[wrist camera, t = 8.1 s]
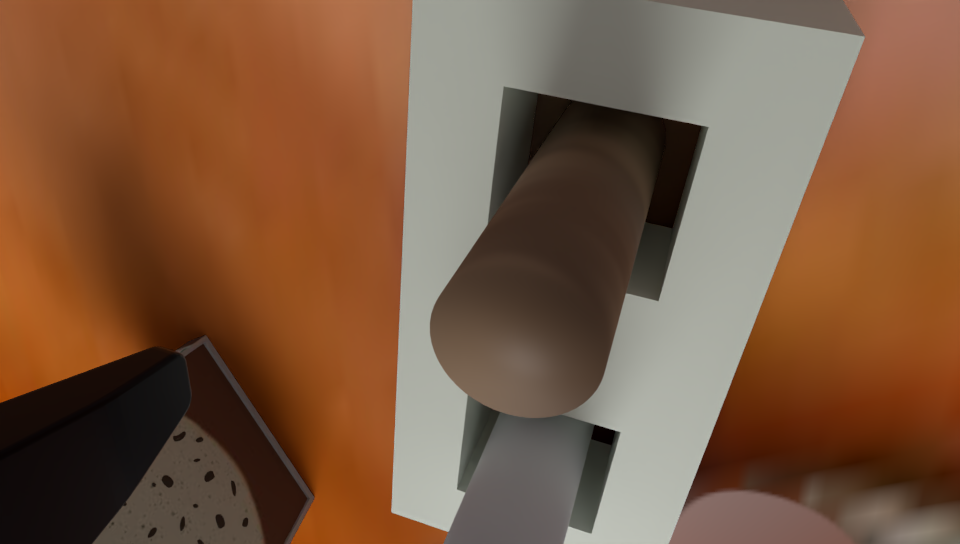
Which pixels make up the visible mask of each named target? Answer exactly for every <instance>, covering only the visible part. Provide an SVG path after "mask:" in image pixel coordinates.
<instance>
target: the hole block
mask: <svg viewBox="0 0 960 544" xmlns="http://www.w3.org/2000/svg"><path fill="white" fill-rule="evenodd" d="M864 38H865V36H864V34H863V32H862V31H861V29H860V28H859V26H858V24H857V23H856V21H855V19H854V18H853V16H852V14H851V13H850V11H849V9H848V8H847V6H846V5H845V3H844V1H843V0H413V7H412V32H411V56H410V80H409V104H408V128H407V152H406V176H405V200H404V224H403V248H402V272H401V296H400V320H399V344H398V368H397V392H396V416H395V440H394V464H393V488H392V513H395V514H398V515H401V516H404V517H407V518H409V519H412V520H415V521H418V522H421V523H424V524H427V525H430V526H433V527H436V528H439V529H441V530H444V531H447V532H449V530H450V527H451V525H452V523H453V520H454V518H455V516H456V514H457V511H458V509H459V507H460V504H461V502H462V500H463V497H464V495H465V493H466V490H467V488H468V486H469V483H470V481H471V479H472V476H473V474H474V472H475V469H476V467H477V465H478V462H479V460H480V458H481V456H482V453H483V451H484V449H485V446H486V444H487V442H488V439H489V437H490V435H491V432H492V430H493V428H494V425H495V423H496V421H497V418H498V416H499V414H500V412H499V411H496V410H493V409H492V408H489V407H487V406H485V405H483V404H481V403H480V402H478V401H476V400H474V399H473V398H472V397H470V396H469V395H467V394H466V393H465V392H464V391H462V390H461V389H460V388H459V387H458V386H457V385H456V384H455V383H454V382H453V381H452V380H451V379H450V378H449V376H448V375H447V374H446V372H445V371H444V370H443V368H442V366H441V365H440V363H439V361H438V359H437V357H436V355H435V353H434V350H433V346H432V343H431V337H430V319H431V313H432V310H433V307H434V305H435V303H436V301H437V299H438V297H439V296H440V294H441V293H442V291H443V290H444V288H445V287H446V285H447V284H448V282H449V281H450V279H451V278H452V276H453V275H454V274H455V272H456V271H457V269H458V268H459V266H460V265H461V263H462V262H463V260H464V259H465V257H466V256H467V254H468V253H469V251H470V250H471V248H472V247H473V246H474V244H475V243H476V241H477V240H478V238H479V237H480V235H481V234H482V232H483V231H484V229H485V228H486V226H487V225H488V223H489V222H490V220H491V219H492V218H493V216H494V215H495V213H496V212H497V210H498V209H499V207H500V206H501V204H502V203H503V201H504V200H505V198H506V197H507V195H508V194H509V192H510V191H511V190H512V188H513V187H514V185H515V184H516V182H517V181H518V179H519V178H520V176H521V175H522V173H523V172H524V170H525V169H526V167H527V166H528V161H529V154H530V147H531V140H532V133H533V126H534V119H535V112H536V105H537V99H538V93H540V94H545V95H550V96H555V97H560V98H565V99H570V100H575V101H580V102H585V103H590V104H595V105H600V106H606V107H611V108H616V109H621V110H626V111H631V112H636V113H641V114H646V115H651V116H656V117H661V118H666V119H671V120H676V121H681V122H686V123H691V124H696V125H701V129H700V133H699V136H698V140H697V143H696V147H695V150H694V154H693V157H692V161H691V165H690V168H689V172H688V175H687V179H686V182H685V186H684V189H683V193H682V197H681V200H680V204H679V207H678V211H677V214H676V218H675V221H674V225H673V228H669V227H664V226H660V225H656V224H651V223H647V222H645V224H644V228H643V232H642V235H641V239H640V243H639V247H638V250H637V254H636V258H635V261H634V265H633V269H632V273H631V276H630V280H629V284H628V287H627V291H626V295H625V299H624V302H623V306H622V310H621V314H620V317H619V321H618V325H617V328H616V332H615V336H614V340H613V343H612V347H611V351H610V354H609V358H608V362H607V366H606V369H605V373H604V376H603V379H602V381H601V383H600V385H599V387H598V389H597V390H596V391H595V393H594V394H593V395H592V396H591V397H590V398H589V399H588V400H587V401H586V402H585V403H584V404H582V405H580V406H579V407H577V408H576V409H574V410H572V411H569V412H567V413H564V414H561V415H564V416H568V417H571V418H575V419H578V420H581V421H585V422H588V423H591V424H595V425H598V426H602V427H605V428H608V429H612V430H615V434H614V438H613V441H612V445H609V444H605V443H602V442H599V441H595V440H592V439H591V441H590V444H589V448H588V452H587V456H586V460H585V464H584V468H583V471H582V475H581V479H580V483H579V487H578V491H577V495H576V498H575V502H574V506H573V510H572V514H571V518H570V522H569V525H568V529H567V533H566V537H565V541H564V544H669V542H670V539H671V536H672V534H673V531H674V529H675V526H676V524H677V521H678V518H679V516H680V513H681V511H682V508H683V506H684V503H685V500H686V498H687V495H688V493H689V490H690V487H691V485H692V482H693V480H694V477H695V475H696V472H697V469H698V467H699V464H700V462H701V459H702V456H703V454H704V451H705V449H706V446H707V444H708V441H709V438H710V436H711V433H712V431H713V428H714V426H715V423H716V420H717V418H718V415H719V413H720V410H721V407H722V405H723V402H724V400H725V397H726V395H727V392H728V389H729V387H730V384H731V382H732V379H733V376H734V374H735V371H736V369H737V366H738V364H739V361H740V358H741V356H742V353H743V351H744V348H745V345H746V343H747V340H748V338H749V335H750V333H751V330H752V327H753V325H754V322H755V320H756V317H757V314H758V312H759V309H760V307H761V304H762V302H763V299H764V296H765V294H766V291H767V289H768V286H769V284H770V281H771V278H772V276H773V273H774V271H775V268H776V265H777V263H778V260H779V258H780V255H781V253H782V250H783V247H784V245H785V242H786V240H787V237H788V234H789V232H790V229H791V227H792V224H793V222H794V219H795V216H796V214H797V211H798V209H799V206H800V203H801V201H802V198H803V196H804V193H805V191H806V188H807V185H808V183H809V180H810V178H811V175H812V172H813V170H814V167H815V165H816V162H817V160H818V157H819V154H820V152H821V149H822V147H823V144H824V142H825V139H826V136H827V134H828V131H829V129H830V126H831V123H832V121H833V118H834V116H835V113H836V111H837V108H838V105H839V103H840V100H841V98H842V95H843V92H844V90H845V87H846V85H847V82H848V80H849V77H850V74H851V72H852V69H853V67H854V64H855V61H856V59H857V56H858V54H859V51H860V49H861V46H862V43H863V41H864Z"/></svg>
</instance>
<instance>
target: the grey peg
mask: <svg viewBox="0 0 960 544" xmlns="http://www.w3.org/2000/svg"><path fill="white" fill-rule="evenodd" d="M594 425H595V424H591V423H588V422H585V421H581V420H578V419H575V418H571V417H568V416H564V415H558V416H552V417H546V418H525V417H518V416H513V415H509V414H505V413H502V412H500V414H499V416H498V418H497V421H496V423H495V425H494V428H493V430H492V432H491V435H490V437H489V439H488V442H487V444H486V446H485V449H484V451H483V453H482V456H481V458H480V460H479V462H478V465H477V467H476V469H475V472H474V474H473V476H472V479H471V481H470V483H469V486H468V488H467V490H466V493H465V495H464V497H463V500H462V502H461V504H460V507H459V509H458V511H457V514H456V516H455V518H454V520H453V523H452V525H451V527H450V530H449V532H448V534H447V537H446V539H445V541H444V544H564V541H565V537H566V533H567V529H568V525H569V522H570V518H571V514H572V510H573V506H574V502H575V498H576V495H577V491H578V487H579V483H580V479H581V475H582V471H583V468H584V464H585V460H586V456H587V452H588V448H589V444H590V441H591V437H592V433H593V429H594Z"/></svg>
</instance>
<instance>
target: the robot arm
mask: <svg viewBox="0 0 960 544" xmlns="http://www.w3.org/2000/svg"><path fill="white" fill-rule="evenodd" d="M191 397H192V392H191V386H190V380H189V374H188V368H187V363H186V359H185V357H184V356H183V354H181V353H179V352H176V351H173V350H170V349H167V348H164V347H152V348H149V349H146V350H143V351H141V352H138V353H135V354H132V355H130V356H127V357H124V358H122V359H119V360H116V361H113V362H111V363H108V364H105V365H102V366H100V367H97V368H94V369H91V370H89V371H86V372H83V373H81V374H78V375H75V376H72V377H70V378H67V379H64V380H61V381H59V382H56V383H53V384H51V385H48V386H45V387H42V388H40V389H37V390H34V391H31V392H29V393H26V394H23V395H21V396H18V397H15V398H12V399H10V400H7V401H4V402H1V403H0V544H93V542H94V541H95V540H96V539H97V537H98V536H99V535H100V534H101V533H102V531H103V530H104V529H105V528H106V526H107V525H108V524H109V523H110V521H111V520H112V519H113V518H114V517H115V515H116V514H117V513H118V512H119V510H120V509H121V508H122V506H123V505H124V504H125V502H126V501H127V500H128V499H129V497H130V496H131V494H132V493H133V492H134V490H135V489H136V487H137V486H138V485H139V483H140V482H141V480H142V479H143V477H144V476H145V474H146V473H147V471H148V469H149V468H150V466H151V465H152V463H153V462H154V460H155V459H156V457H157V456H158V454H159V453H160V451H161V450H162V448H163V447H164V445H165V444H166V442H167V441H168V439H169V438H170V436H171V435H172V433H173V432H174V430H175V429H176V427H177V425H178V424H179V422H180V421H181V419H182V418H183V416H184V415H185V413H186V412H187V410H188V408H189V406H190V402H191Z"/></svg>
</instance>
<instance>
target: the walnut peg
mask: <svg viewBox="0 0 960 544" xmlns="http://www.w3.org/2000/svg"><path fill="white" fill-rule="evenodd" d="M665 144H666V133H665V127H664V123H663V120H662V118H661V117H656V116H651V115H646V114H641V113H636V112H631V111H626V110H621V109H616V108H611V107H606V106H600V105H595V104H590V103H585V102H580V101H575V100H573V101H572V102H571V103H570V105H569V106H568V107H567V109H566V110H565V111H564V113H563V114H562V116H561V117H560V119H559V120H558V122H557V123H556V125H555V126H554V128H553V129H552V131H551V132H550V134H549V135H548V136H547V138H546V139H545V141H544V142H543V144H542V145H541V147H540V148H539V150H538V151H537V153H536V154H535V156H534V157H533V159H532V160H531V162H530V163H529V164H528V166H527V167H526V169H525V170H524V172H523V173H522V175H521V176H520V178H519V179H518V181H517V182H516V184H515V185H514V187H513V188H512V190H511V191H510V192H509V194H508V195H507V197H506V198H505V200H504V201H503V203H502V204H501V206H500V207H499V209H498V210H497V212H496V213H495V215H494V216H493V218H492V219H491V220H490V222H489V223H488V225H487V226H486V228H485V229H484V231H483V232H482V234H481V235H480V237H479V238H478V240H477V241H476V243H475V244H474V246H473V247H472V248H471V250H470V251H469V253H468V254H467V256H466V257H465V259H464V260H463V262H462V263H461V265H460V266H459V268H458V269H457V271H456V272H455V274H454V275H453V276H452V278H451V279H450V281H449V282H448V284H447V285H446V287H445V288H444V290H443V291H442V293H441V294H440V296H439V297H438V299H437V301H436V303H435V305H434V307H433V310H432V313H431V319H430V337H431V343H432V346H433V350H434V353H435V355H436V357H437V359H438V361H439V363H440V365H441V366H442V368H443V370H444V371H445V372H446V374H447V375H448V376H449V378H450V379H451V380H452V381H453V382H454V383H455V384H456V385H457V386H458V387H459V388H460V389H461V390H462V391H464V392H465V393H466V394H467V395H469V396H470V397H472V398H473V399H474V400H476V401H478V402H480V403H481V404H483V405H485V406H487V407H489V408H492V409H494V410H496V411H499V412H502V413H505V414H509V415H513V416H518V417H525V418H546V417H552V416H558V415H561V414H564V413H567V412H569V411H572V410H574V409H576V408H577V407H579V406H580V405H582V404H584V403H585V402H586V401H587V400H588V399H589V398H590V397H591V396H592V395H593V394H594V393H595V391H596V390H597V389H598V387H599V385H600V383H601V381H602V379H603V376H604V373H605V369H606V366H607V362H608V358H609V354H610V351H611V347H612V343H613V340H614V336H615V332H616V328H617V325H618V321H619V317H620V314H621V310H622V306H623V302H624V299H625V295H626V291H627V287H628V284H629V280H630V276H631V273H632V269H633V265H634V261H635V258H636V254H637V250H638V247H639V243H640V239H641V235H642V232H643V228H644V224H645V220H646V217H647V213H648V209H649V206H650V202H651V198H652V194H653V191H654V187H655V183H656V180H657V176H658V172H659V168H660V165H661V161H662V157H663V153H664V150H665Z"/></svg>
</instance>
